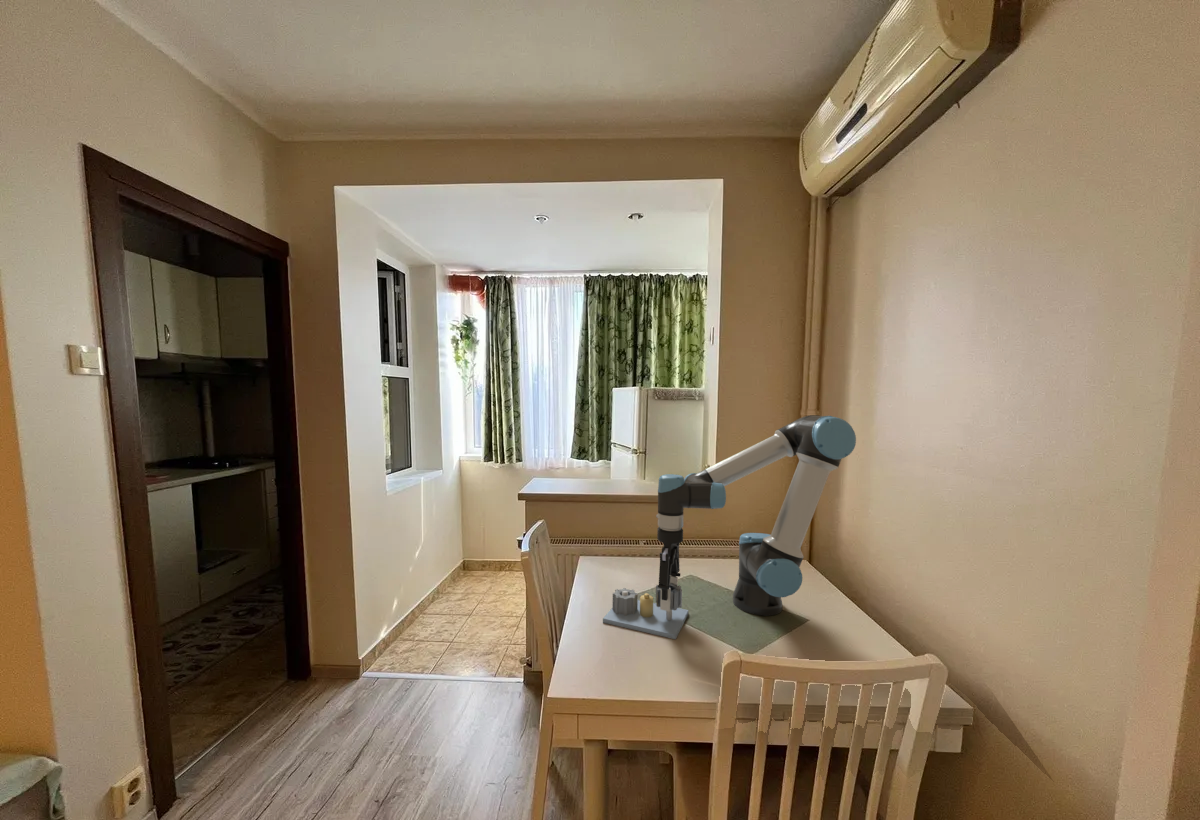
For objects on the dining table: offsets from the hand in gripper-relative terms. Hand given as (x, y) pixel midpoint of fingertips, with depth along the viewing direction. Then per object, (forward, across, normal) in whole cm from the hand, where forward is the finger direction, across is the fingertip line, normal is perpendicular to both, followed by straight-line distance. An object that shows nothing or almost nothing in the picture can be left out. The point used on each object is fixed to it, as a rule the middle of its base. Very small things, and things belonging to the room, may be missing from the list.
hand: (669, 603), depth 130 cm
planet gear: (0, 0, 0) cm, 0 cm away
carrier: (+6, 0, -7) cm, 9 cm away
